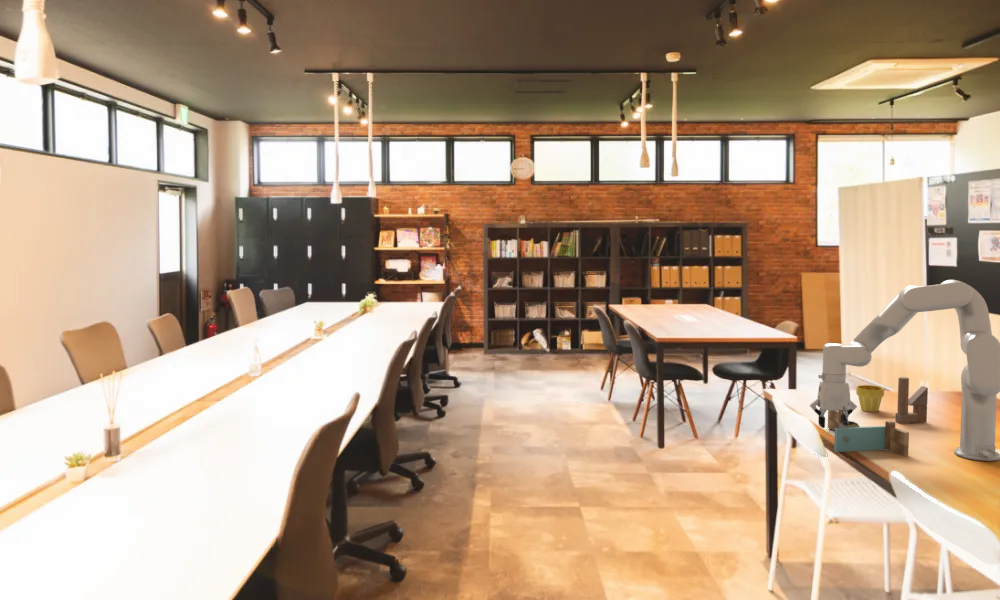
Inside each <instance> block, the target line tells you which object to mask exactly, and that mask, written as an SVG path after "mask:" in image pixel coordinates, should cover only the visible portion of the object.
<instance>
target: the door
mask: <svg viewBox="0 0 1000 600" xmlns="http://www.w3.org/2000/svg"><path fill="white" fill-rule="evenodd" d="M833 441H834V444H833V447H834V448H833V451H834V452H836V453H842V452H843V453H844V452H845V453H846V452H861V451H860V450H864V451H879V450H880V451H881V450H885V425H875V426H872V425H871V426H860V427H850V428H835V431H834V440H833Z"/></svg>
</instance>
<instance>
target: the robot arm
mask: <svg viewBox="0 0 1000 600" xmlns="http://www.w3.org/2000/svg"><path fill="white" fill-rule="evenodd" d="M951 309H955V311H956V314H957V318H958V324H959V335H960V336H959V337H960V348H961V351H962V352H963V353H964V354H965V355H966V362H967V364H966V365H965V366H964V367H963V369H962V371H961V374H960V375H961V376H960V382H961V383H960V384H961V385H960V386H961V410H960V411H961V412H960V416H961V417H960V439H959V441H960V443H959V446H958V447H955V448H954V454H955V455H957V456H959V457H961V458H965V459H970V460H973V461H974V460H975V461H981V462H982V461H983V462H994V461H998V460H999V461H1000V453H999V452H997V451H996V427H997V425H996V424H997V409H998V408H997V407H998V406H997V404H998V402H997V401H998V398H997V394H999V393H1000V341H999V339H998V338H997V337H996V336H994V335H993V333H992V327H991V326H992V325H991V320H990V312H989V308H988V304H987V302H986V300H985V299H984V297H983V295H981V294H980V292H978V290H976V289H975V288H974V287H973V286H971V285H969V284H967V283H965V282H963V281H960V280H956V279H947V280H944V281H942V282H941V283H940V284H939V283H938V284H932V285H931V284H930V285H921V286H919V285H916V284H915V285H914V284H913V285H911V284H910V285H907V286H905V287H904V288H902V289H901V290H900V291H899V292H898V293H897V294H896V296H895V297H894V298H893V299H891V301H890V302H889V303H888V304H887V305H886V306H885V307H884V308H882V310H881V311H880V312H879V314H877V315H876V317H874V318H873V319H872V320H871V321H870V323H868V324H867V325H866V326H865V327H864V328H863V329H862V330H861V331H860V332H859V333H858V334H857V335H856V336H855V337H854V338H853V339H852V340H851V342H850V343H848V345H845V344H843V343H836V342H828V343H825V344H824V345H823V348H822V372H821V374H818V376H817V378H818V379H821V380H820V383H819V385H818V390H817V398H816V399H815V400H814V401H813V402H811V403H810V405H809V407H810V408H811V409H812V410H813V411H814V412H815V414H817V416H818V425H819V427H820V428H822V429H825V427H826V417H825V414H826V412H827V411H828V410H833V411H841V412H842V415H841V422H840V424H841V423H842V422H844V421H847V420H846V416H845V412H844V409H843V406H845V408H846V413H847V417H848V418H849V416H850V415H851V414H852V413H853V412H854V411H855V410H856V409H857V408H858V406H857V405H856V404H855V403H854V402H853V401H852V400H851V391H850V386H849V382H847V381H846V379H847V374H846V373H847V366H853V367H857V368H861V367H865V366H867V365H868V364H870V363H871V361H872V353H873V352H874V351H875V350H876V349H877V348H879V347H878V346H880V345H881V344H882V343H883V342H884V341H886V340H887V339H889V338H891V337H893V336H895V335H896V334H898V333H899V332H901V330H902V329H903V328H904V327H905V326H906V325H907V324H908V323H909V322H910V321H911V320H912V319H913V318H914V317H915V316H916V315H917V314H918V313H922V312H934V311H941V310H951ZM817 407H818V408H819V409H818V408H817Z"/></svg>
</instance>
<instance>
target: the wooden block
mask: <svg viewBox="0 0 1000 600" xmlns="http://www.w3.org/2000/svg"><path fill="white" fill-rule="evenodd" d="M897 379H898V381H897V382H898V383H897V385H898V386H897V412H895V415H894V416H895V418H894V422H895V423H898V424H901V423H902V424H927V423H928V422H927V418H928V416H927V415H928V393H929V387H926V386H924V385H921V386H920V387H919V388H918V389H917V390H916V391H915V392H914V393H913V394H912V395H911V396H910V397H909V390H910V389H909V388H910V387H909V386H910V378H909V377H906V376H900V377H899V376H898V378H897ZM909 406H912V412H910V411H909Z"/></svg>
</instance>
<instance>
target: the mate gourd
mask: <svg viewBox="0 0 1000 600" xmlns="http://www.w3.org/2000/svg"><path fill="white" fill-rule="evenodd" d="M843 409H844V412H845V416H846V420H847V421H844V422H842V423H841V424H840V426H839V428H850V427H861V426H860V425H859V423H857V422H855V421H851V420H849V417H847V413H846V408H845V406H843Z"/></svg>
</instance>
